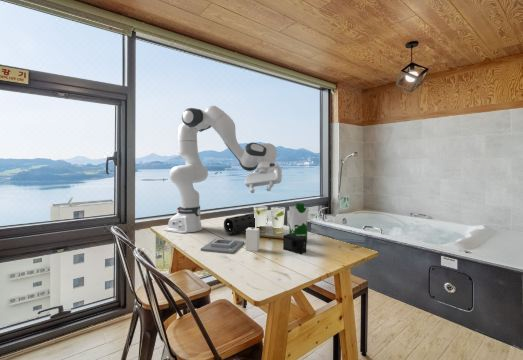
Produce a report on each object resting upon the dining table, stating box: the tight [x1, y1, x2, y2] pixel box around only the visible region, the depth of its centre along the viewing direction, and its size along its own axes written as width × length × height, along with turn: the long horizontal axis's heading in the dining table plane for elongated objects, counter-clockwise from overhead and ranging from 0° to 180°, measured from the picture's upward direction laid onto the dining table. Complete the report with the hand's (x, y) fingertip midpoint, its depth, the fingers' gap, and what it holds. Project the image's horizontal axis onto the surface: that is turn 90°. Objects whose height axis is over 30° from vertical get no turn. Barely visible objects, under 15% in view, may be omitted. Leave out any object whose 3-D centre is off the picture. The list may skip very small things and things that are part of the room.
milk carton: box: [288, 202, 309, 244], centre depth 143 cm, size 9×9×20 cm
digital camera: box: [282, 233, 307, 255], centre depth 129 cm, size 10×5×7 cm, turn 48°
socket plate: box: [200, 238, 245, 255], centre depth 134 cm, size 16×16×2 cm
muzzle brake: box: [223, 212, 269, 236], centre depth 164 cm, size 10×28×10 cm, turn 136°
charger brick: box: [245, 227, 260, 252], centre depth 130 cm, size 6×4×10 cm
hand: (260, 191), depth 138 cm, fingers open, 8 cm apart
